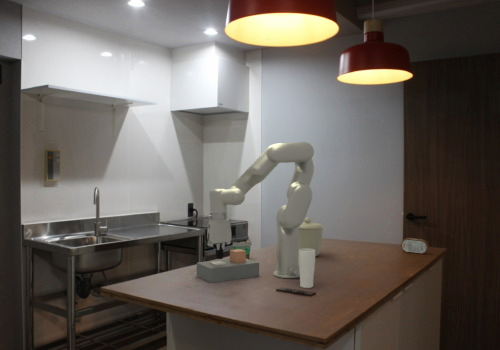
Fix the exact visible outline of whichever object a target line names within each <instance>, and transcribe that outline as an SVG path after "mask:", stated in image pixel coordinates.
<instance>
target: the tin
mask: <svg viewBox="0 0 500 350" xmlns="http://www.w3.org/2000/svg"><path fill="white" fill-rule="evenodd" d="M400 247H401V249H402V251H403V252H405V253H407V252H411V254H416V253H420V254H419V255H423V254H425V253H427V252H428V251H429V248H430V245H429V243H428V241H426V240H425V239H424V238H413V237H406V238H403V240H402V241H401V243H400Z"/></svg>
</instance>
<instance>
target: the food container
mask: <svg viewBox="0 0 500 350" xmlns="http://www.w3.org/2000/svg"><path fill="white" fill-rule="evenodd" d="M251 246H252V241H251V240H250V239H246V241H239V242H235V241H233V242H232V248H233V250H236V249H241V250H245V251H246V258H247V259H250V256H251V255H250V254H251Z"/></svg>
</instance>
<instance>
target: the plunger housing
mask: <svg viewBox="0 0 500 350" xmlns="http://www.w3.org/2000/svg"><path fill="white" fill-rule="evenodd" d="M217 261H222V262H224V263H226V265H218V266H214V265H212V264H210V262H217ZM259 276H260V262H258V261H256V260H253V259H250V258H249V259H247V258H246V262H243V263H233V262H230V258H225V259H224V258H223V259H217V260H208V261H199V262H196V277H198V278H199V279H202V280H204V281H207V283H209V284H212V283H213V284H214V283H220V281H221V282H226V281H227V280H228V281H234V280H242V279H247V278H248V279H249V278H257V277H259ZM228 281H227V282H228Z"/></svg>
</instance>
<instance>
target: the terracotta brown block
mask: <svg viewBox="0 0 500 350" xmlns="http://www.w3.org/2000/svg"><path fill="white" fill-rule="evenodd" d="M229 259H230V262H233V263H243V262H246V251H245V250H241V249H236V250H234V249H230V250H229Z"/></svg>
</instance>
